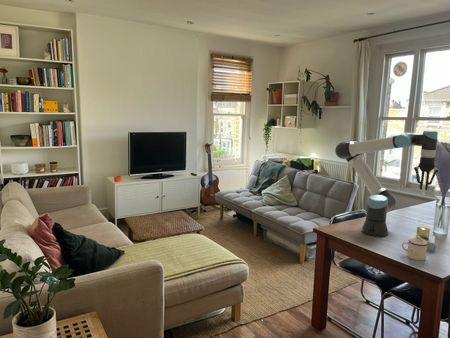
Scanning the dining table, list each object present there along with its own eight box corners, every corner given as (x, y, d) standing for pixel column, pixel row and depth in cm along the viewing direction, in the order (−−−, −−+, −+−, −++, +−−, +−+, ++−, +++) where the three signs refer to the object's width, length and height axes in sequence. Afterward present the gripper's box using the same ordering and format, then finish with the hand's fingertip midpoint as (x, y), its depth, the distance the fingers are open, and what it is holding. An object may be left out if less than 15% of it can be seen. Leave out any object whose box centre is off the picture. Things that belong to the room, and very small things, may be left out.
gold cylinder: (420, 247, 191) (422, 230, 189) (412, 242, 197) (414, 226, 196) (430, 246, 192) (432, 230, 190) (422, 242, 198) (424, 226, 196)
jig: (433, 250, 186) (434, 243, 186) (409, 245, 193) (409, 238, 192) (433, 243, 196) (434, 236, 196) (410, 239, 203) (411, 232, 202)
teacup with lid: (426, 255, 180) (428, 235, 178) (426, 262, 173) (428, 241, 170) (401, 250, 186) (403, 231, 184) (400, 257, 179) (402, 236, 176)
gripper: (414, 156, 200) (409, 194, 204) (440, 158, 192) (434, 198, 196) (416, 154, 206) (411, 192, 210) (441, 156, 198) (436, 195, 202)
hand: (422, 194), depth 203 cm, fingers closed
